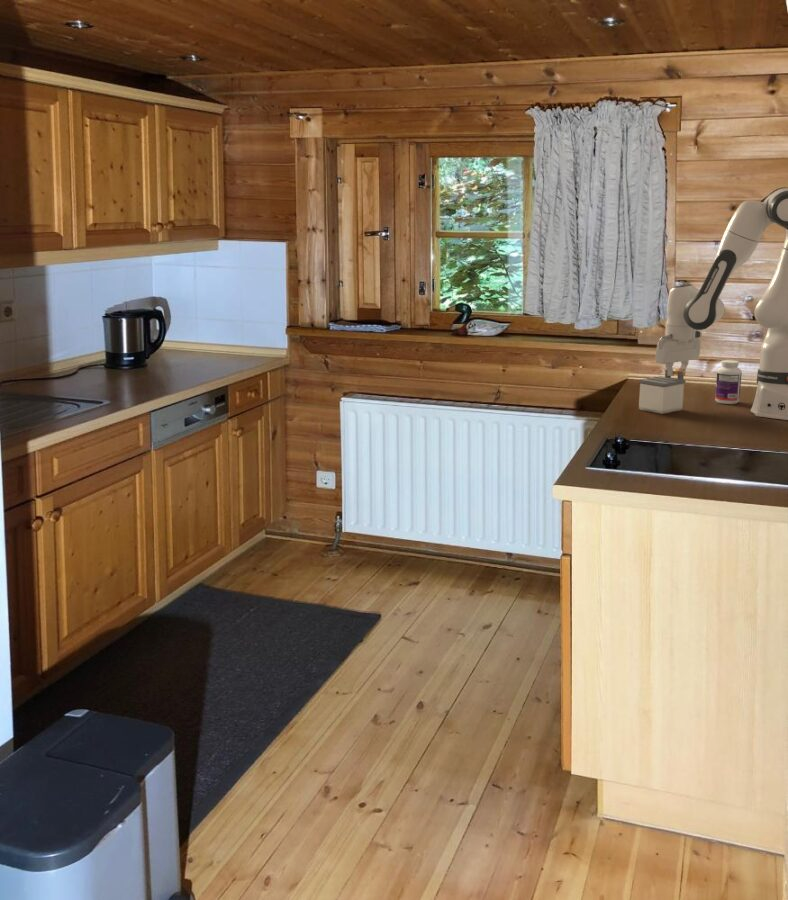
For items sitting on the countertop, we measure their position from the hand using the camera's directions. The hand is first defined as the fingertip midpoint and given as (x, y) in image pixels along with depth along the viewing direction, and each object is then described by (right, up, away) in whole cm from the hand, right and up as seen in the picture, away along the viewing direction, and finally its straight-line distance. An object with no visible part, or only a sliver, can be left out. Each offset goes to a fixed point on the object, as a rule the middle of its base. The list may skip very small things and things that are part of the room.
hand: (676, 374), depth 354 cm
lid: (-5, -3, -3) cm, 6 cm away
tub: (-6, -12, -2) cm, 13 cm away
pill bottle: (+20, -9, +10) cm, 24 cm away
